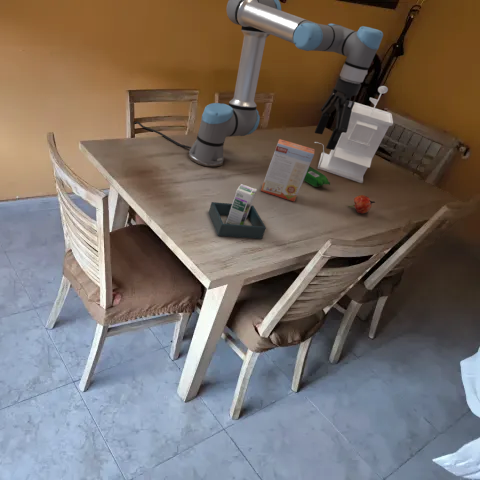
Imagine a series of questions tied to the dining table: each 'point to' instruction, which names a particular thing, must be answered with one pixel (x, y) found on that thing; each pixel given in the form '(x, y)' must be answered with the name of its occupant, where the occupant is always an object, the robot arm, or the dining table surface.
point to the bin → (235, 229)
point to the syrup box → (241, 205)
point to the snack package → (315, 178)
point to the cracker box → (287, 170)
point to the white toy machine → (358, 141)
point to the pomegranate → (362, 204)
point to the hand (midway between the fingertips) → (323, 141)
